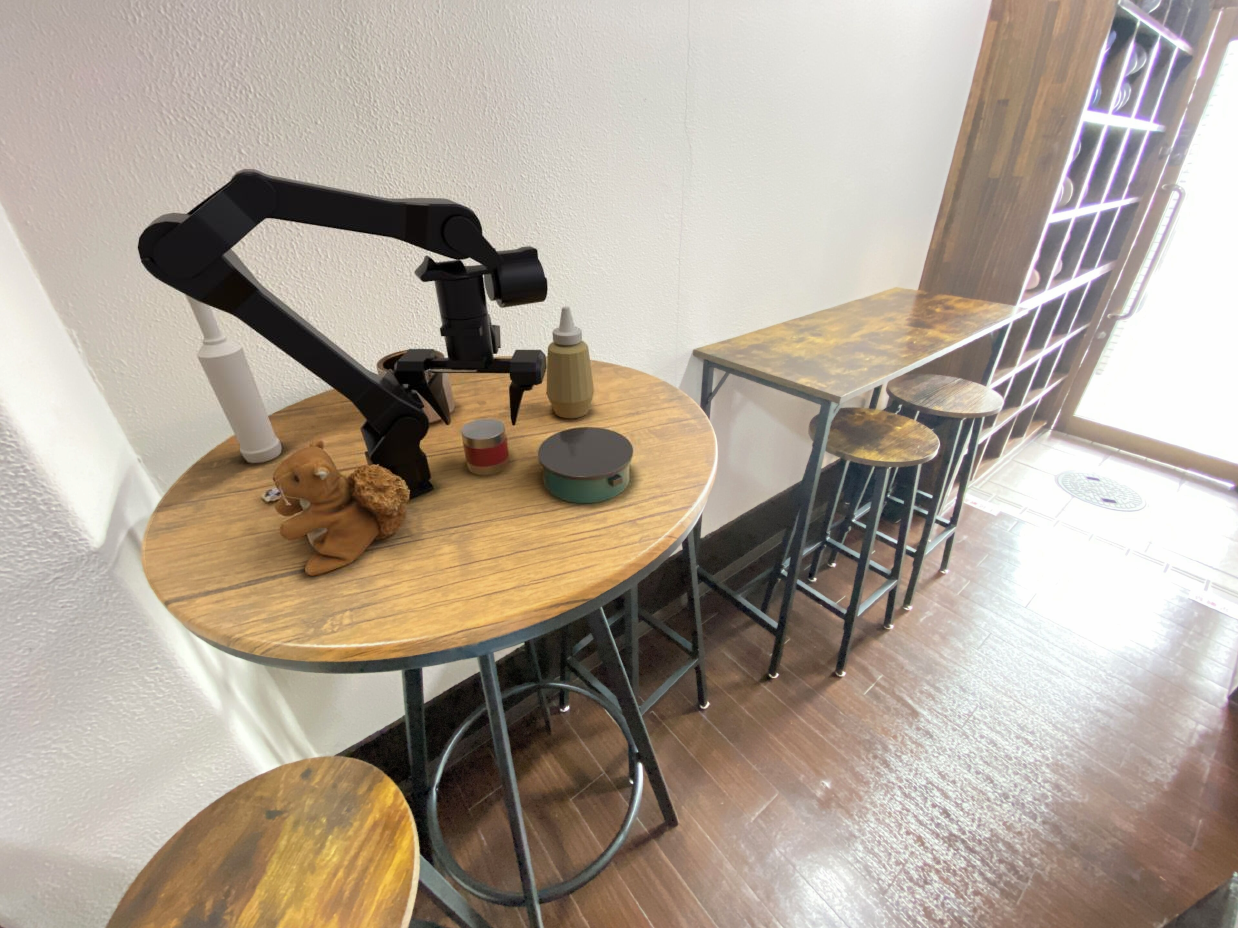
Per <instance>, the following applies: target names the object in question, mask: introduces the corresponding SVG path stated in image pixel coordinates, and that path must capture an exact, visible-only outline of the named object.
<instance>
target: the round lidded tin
mask: <svg viewBox="0 0 1238 928" xmlns="http://www.w3.org/2000/svg"><path fill="white" fill-rule="evenodd" d="M633 458H634V447H633V444H632V442H631V441H630V440H629V439H628V438H627V437H626V436H624V435H623V434H621V433H619V432H617V431H614V430H612V429H609V428H603V427H597V426H596V427H595V426H580V427H573V428H568V429H564V430H561V431H558V432H555V433H554V434H552V435H550V436H549V437H547V438H546V439H544V440H543V441H542V442H541V444H540V445H539V447H538V449H537V460H538V463H539V464H540V466H541V467H542V474H543V483H544V486H545V488H546V490H547V491H548V492H549V493H550V494H551V495H552V496H553V497H555V498H557V499H559V500H562V501H565V502H568V503H574V504H594V503H602V502H603V501H607V500H610V499H613V498H614V497H616V496H619V494H621V493H622V492H623V491H625V489H626V488H627V487H628V485H629V482H630V464H631V462H632V460H633Z"/></svg>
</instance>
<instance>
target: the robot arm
mask: <svg viewBox="0 0 1238 928" xmlns="http://www.w3.org/2000/svg"><path fill="white" fill-rule="evenodd" d="M266 219H271V220H273V219H274V220H280V221H284V222H292V223H296V224H297V223H299V224H304V225H311V226H317V227H323V228H329V229H335V230H341V231H348V232H355V233H360V234H366V235H372V236H377V237H379V236H380V237H385V238H391V239H395V240H398V241H401V242H403V243H406V244H410V245H412V246H414V247H417V248H420V249H422V250H425V251H428V252H431V253H434V254H437V255H439V256H443V257H445V258H448V259H452V260H444V261H435V260H434V259H433V258H432V257H431V256H429V255H425V256H423V257H424V258H423V261H422V262H421V264H419V266H417V268H416V269H415V270H414V272H413V273H414V275H415V276H416V277H417V278H418V279H419V280H420V281H421V282H422V283H428V282H434V287H435V288H434V289H435V293H436V294H435V295H436V299H437V304H438V309H439V310H438V311H439V315H440V322H441V326H440V327H439V333H440V337H444V343H445V348H446V354H447V357H445V358H438V354H437V352H436V351H437V350H436V349H435V348H409V349H407V350H408V351H407V352H406V353H405V354H404V355H403V356H402V357H401V358H400V359H399V360H398V361H397V362H396V364H395V366H394V372H393V371H392V370H391V369H389V370H388V371H387V373H386V374H385V375H384V377H383V376H381V375H378V373H376V372H372V371H371V370H369V369H367V368H366V367H365V366H363V364H361V363H360V362H359V361H357V360H356V359H355V358H353V356H351V355H350V354H349V353H347V352H346V351H345V350H344V349H343V348H341V347H340V346H338V345H337V344H336V343H335V342H334V341H333V340H331V339H330V338H328V337H327V336H326V335H325V334H323V333H322V332H321V331H320V330H319V329H318V328H316V327H315V326H314V325H313V324H311V323H310V322H309V321H307V320H306V319H305V318H304V317H302V316H301V315H300V314H299V313H297V312H296V311H295V310H293V309H292V308H291V307H290V306H289V305H287V304H286V303H285V302H284V301H283V300H282V299H280V298H279V297H278V296H277V295H275V294H273V293H272V292H271V291H270V290H269V289H267V288H266V287H265V286H264V285H262V283H261V282H260V281H259V280H258V278H256V277H255V275H254V274H253V273H252V272H251V270H250V269H249V268H248V266H246V264H245V263H244V262H243V261H242V260H241V258H240V257H239V255H237V254H236V253H235V251H234V250H233V248H234V247H235V246H236V245H237V244H238V243H240V241H241V240H243V239H244V237H246V236H247V235H249V233H250V232H252V231H253V230H254V229H256V227H257V226H258V225H260V224H261V223H263V222H264V221H265V220H266ZM137 251H138V252H137V253H138V255H139V260H140V263H141V264H142V266H143V267H144V269H145V270H146V271H147V272H148V273H149V274H150V275H151V276H152V277H154V279H156V280H157V281H160V282H161V283H163V284H165V285H166V286H169V287H170V288H172V289H174V290H175V291H178V292H180V293H181V294H184V295H185V296H186V295H187V296H189V297H191V298H193V299H195V300H197V301H199V302H201V303H204V304H206V305H209V306H210V308H214V309H217V310H219V311H222V312H224V313H227V314H229V315H231V316H233V317H235V318H237V319H238V320H240V321H241V322H242V323H244V325H246V326H248V327H249V328H250V329H252V330H253V331H254V332H256V333H257V334H259V335H260V336H261V337H263V338H264V339H266V340H267V341H268V342H269V343H271V344H272V345H274V346H275V347H276V348H278V349H279V350H280V351H282V352H283V353H285V354H286V355H287V356H289V357H290V358H292V360H294V361H295V362H297V363H299V364H300V365H301V366H303V367H304V368H305V369H306V370H308V371H309V372H310V373H311V374H313V375H315V376H316V377H317V378H319V379H320V380H322V381H323V382H324V383H325V384H327V385H328V386H330V387H331V388H333V390H335V391H337V392H338V393H339V394H340V395H342V396H343V397H345V398H346V399H347V400H349V401H350V403H352V404H353V405H354V406H355V408H356V409H357V410H358V411H359V413H360V414H361V415H362V416H363V417H364V419H365V421H364V422H363V423H362V425H361V427H360V433H361V436H362V439H363V441H364V444H365V447H366V451H364V457H365V460H366V464H367V465H368V466H369V465H370V466H371V465H373V464H374V465H377V464H379V466H381V467H383V468H386V469H387V470H390V472H392V474H395V475H396V476H399V477H401V478H402V480H405V484H406V486H408V489H409V490H410V495H409V500H411V499H414V498H415V497H418V496H421V495H423V494H426V493H429V492H432V491H433V490H434V489H435V487H434V484H433V483H432V482H431V481H430V480H431V479H432V474H431V469H430V465H429V462H428V457H427V454H426V453H425V452H424V451H423V449H422V448H421V441H422V440H424V439H425V437H426V436H427V435H428V432H429V430H430V424H429V419H428V417H427V415H426V413H425V412H424V410H423V408H424V404H423V402H422V401H421V399H420V397H419V396H418V394H417V392H418V393H419V394H420V395H421V396H422V397H423V398H424V399H425V400H426V401H427V402H428V403H429V404H430V406H431V407H432V408H433V409H434V410H435V412H436V413H437V414H438V415H439V417H440V418H441V419H442V420H441V421H442V422H443V423H444V425H446V426H450V425H451V423H452V417H451V413H450V410H449V406H448V403H447V399H446V395H445V391H444V387H443V373H448V374H508V375H509V380H510V381H511V382H510V384H509V386H508V395H509V397H508V398H509V412H510V421H511V426H513V427H514V426H516V425H517V421H518V417H519V413H520V408H521V404H522V400H523V395H524V393H525V392H529V391H531V390H533V389H534V386H538V385H541V384H543V381H544V378H545V374H546V373H547V356H546V354H545V353H544V351H543V350H541V349H515V350H514V352H513V354H512V356H511V358H510V357H509V358H507V357H505V358H504V357H502V358H501V357H500V358H499V357H495V356H494V355H497V354H498V352H500V351H499V349H501V348H502V342H501V341H502V340H501V325H498V324H492V317H491V314H490V313H489V311H488V303H487V297H488V299H489V300H490V301H491V302H495V303H496V304H497V305H498V307H499V308H501V309H505V308H512V307H517V306H524V305H530V304H531V305H532V304H537V303H543V302H545V301H546V299H547V296H548V290H549V289H548V285H549V284H548V278H547V276H546V274H545V270H544V267H543V264H542V262H541V261H540V259H539V250H538V249H537V248H536V247H533V246H531V245H528V246H521V247H518V248H513V249H505V250H497V249H496V248H495V247H493V245H492V244H491V243H490V242H489V241H488V239H486V238H485V236H484V235H483V226H482V223H481V221H480V219H479V217H478V216H477V214H476V212H474V210H473V209H471V208H470V207H468V206H465V205H463V204H461V203H458V202H456V201H455V200H454V201H453V200H451V199H448V198H442V197H403V198H393V197H392V198H391V197H390V198H388V197H383V196H377V195H374V194H373V195H372V194H369V193H368V194H367V193H362V192H357V191H352V190H347V189H346V190H345V189H342V188H337V187H331V186H327V185H322V184H316V183H312V182H307V181H301V180H296V179H291V178H285V177H281V176H276V175H270V174H267V173H265V172H263V171H261V170H258V169H254V168H244V169H240V170H237V171H236V172H235V173H234V174H233V175H232V176H231V178H230V180H229V181H228V182H226V183H225V184H224V185H223V186H221V187H220V188H219V189H217V190H216V191H215V192H213V193H211V194H210V195H209V196H208V197H206V198H205V199H204V200H202V201H201V202H199V203H198V204H197V205H196V206H194V207H192V209H190V210H189V211H188V212H187V213H181V212H170V213H164V214H162V215H161V214H160V216H158V217H157V218H155V219H154V220H152V222H151V223H149V224H148V226H146V227H145V228H144V229H143V230H142V233H141V234H140V236H139V237H138V242H137ZM468 259H471V260H473V261H475V262H477V263H479V264H474V265H465V264H464V262H463V261H464V260H468ZM486 296H487V297H486ZM435 350H436V351H435ZM416 391H417V392H416Z"/></svg>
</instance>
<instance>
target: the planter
mask: <svg viewBox="0 0 1238 928" xmlns="http://www.w3.org/2000/svg"><path fill="white" fill-rule="evenodd" d="M408 350H409V349H404V350H399V351H395V352H392V353H389V354H386V355H385V356H383V357H381V358H380V359H379V360H378V361H377V362H376V363H375V364H376V370H377V374H378V375H381V376H383V377H384V375H385V374H386V373H387V371H388V370H389V369H391V370H392V371H393V372H394V366H395V364H396V362H397V361H398V360H399V359H400V358H401V357H402V356H403V355H404V354H405V353H406V352H407V351H408ZM434 350H435V351H436V352H437V354H438V358H446V355H445V354H444V353H443V352H442V351H439V350H436V349H434ZM443 387H444V391H445V395H446V399H447V403H448V406H449V410H450V414H451V413H452V412H453V411H454V410H455V399H454V393H453V389H452V384H451V379H450V373H443ZM416 392H417V391H416ZM417 394H418V396H419V397H420V399H421V401H422V402H423V404H424V408H423V410H424V412H425V413H426V415H427V417H428V419H429V425H431V424H434V423H438V422H439V421H443V420H442V419H441V418H440V417H439V415H438V414H437V413H436V412H435V410H434V409H433V408H432V407H431V406H430V404H429V403H428V402H427V401H426V400H425V399H424V398H423V397H422V396H421V395H420V394H419V393H418V392H417Z"/></svg>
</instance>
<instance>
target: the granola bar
mask: <svg viewBox="0 0 1238 928" xmlns="http://www.w3.org/2000/svg"><path fill="white" fill-rule="evenodd" d="M260 497H261V498H263V499H264V501H265V502H271V501H272V502H275V501H277V500H279V499H280V497H282V496H281V493H280V492H279V490H278V489H277V487H276V486H275V487H273V488H271V489H269V490H266V491H265V493H261V495H260Z"/></svg>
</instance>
